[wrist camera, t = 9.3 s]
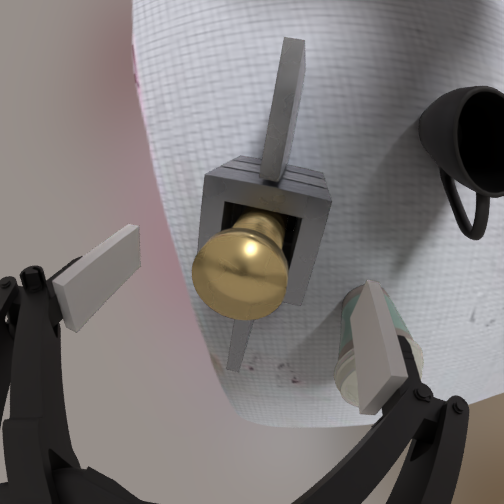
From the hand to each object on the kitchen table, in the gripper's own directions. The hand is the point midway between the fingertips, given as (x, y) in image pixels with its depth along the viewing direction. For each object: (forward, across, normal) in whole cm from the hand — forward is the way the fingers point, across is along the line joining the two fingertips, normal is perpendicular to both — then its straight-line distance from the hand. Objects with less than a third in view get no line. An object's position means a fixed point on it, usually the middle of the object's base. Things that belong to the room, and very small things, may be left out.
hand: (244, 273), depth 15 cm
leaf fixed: (+14, 0, -5) cm, 15 cm away
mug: (+14, +15, +10) cm, 23 cm away
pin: (+14, 0, 0) cm, 14 cm away
